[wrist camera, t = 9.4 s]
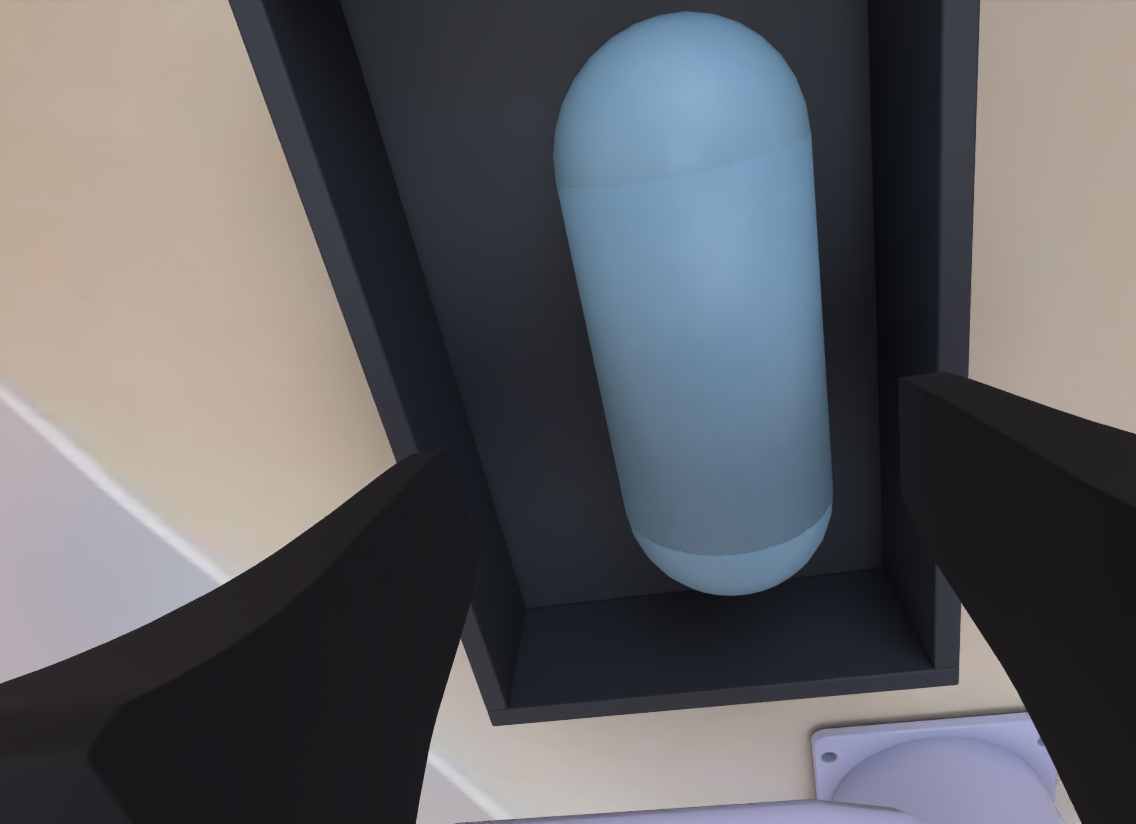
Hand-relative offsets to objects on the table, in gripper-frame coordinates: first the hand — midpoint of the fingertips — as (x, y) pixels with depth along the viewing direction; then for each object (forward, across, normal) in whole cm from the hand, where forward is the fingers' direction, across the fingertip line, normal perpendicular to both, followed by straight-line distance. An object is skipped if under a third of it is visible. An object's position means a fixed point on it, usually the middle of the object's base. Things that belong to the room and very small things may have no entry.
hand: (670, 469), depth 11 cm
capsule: (+7, 0, 0) cm, 7 cm away
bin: (+8, 0, 0) cm, 8 cm away
